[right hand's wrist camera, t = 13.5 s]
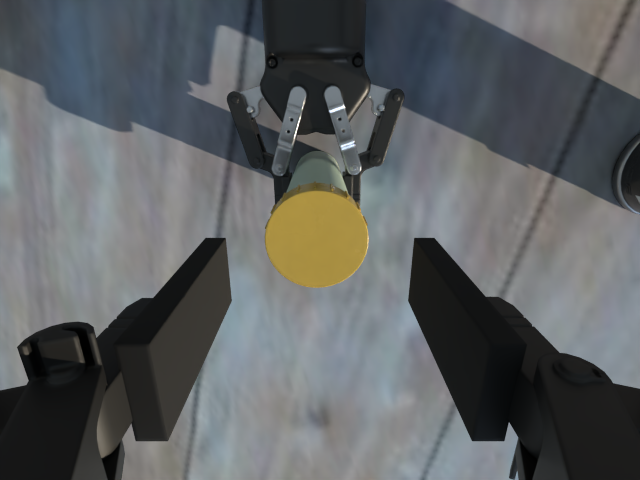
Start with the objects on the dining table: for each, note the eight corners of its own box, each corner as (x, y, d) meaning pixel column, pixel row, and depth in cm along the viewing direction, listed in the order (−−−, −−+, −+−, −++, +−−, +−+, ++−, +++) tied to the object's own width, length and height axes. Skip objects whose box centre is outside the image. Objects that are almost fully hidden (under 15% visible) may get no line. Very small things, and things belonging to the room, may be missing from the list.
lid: (351, 168, 18) (355, 175, 17) (374, 259, 20) (380, 274, 18) (255, 196, 19) (248, 206, 17) (286, 282, 21) (283, 299, 19)
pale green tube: (332, 145, 35) (348, 183, 17) (344, 188, 37) (370, 266, 19) (289, 158, 36) (259, 209, 18) (302, 200, 37) (287, 287, 19)
